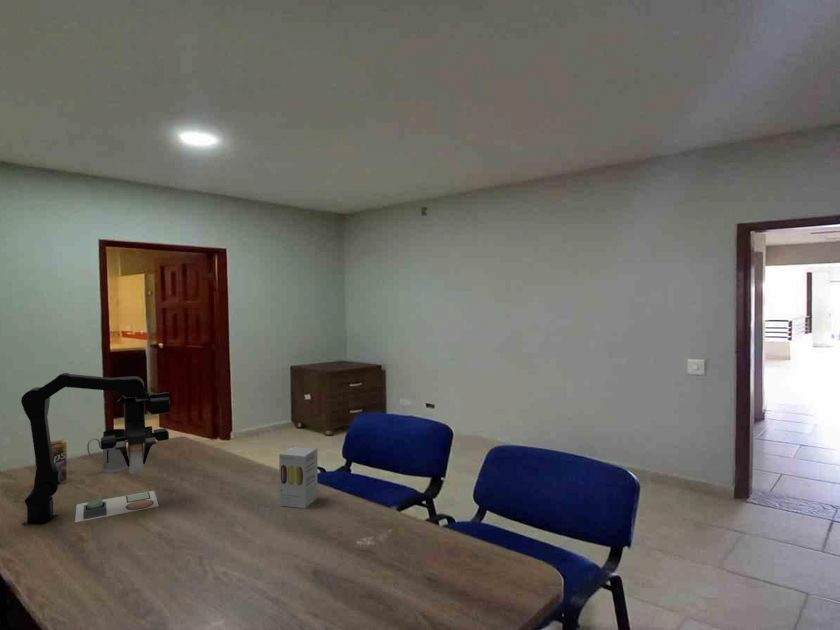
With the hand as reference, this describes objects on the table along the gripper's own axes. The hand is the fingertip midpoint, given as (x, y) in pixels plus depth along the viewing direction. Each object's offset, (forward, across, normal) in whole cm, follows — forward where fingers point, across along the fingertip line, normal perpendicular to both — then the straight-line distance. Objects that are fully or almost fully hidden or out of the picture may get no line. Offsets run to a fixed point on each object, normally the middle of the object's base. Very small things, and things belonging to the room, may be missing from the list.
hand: (136, 465), depth 162 cm
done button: (+11, -11, -1) cm, 16 cm away
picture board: (+13, -5, +3) cm, 14 cm away
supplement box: (+14, +44, -25) cm, 53 cm away
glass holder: (+13, -7, +46) cm, 48 cm away
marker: (+2, 0, 0) cm, 2 cm away
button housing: (+12, -12, -1) cm, 17 cm away
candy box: (+13, -24, +40) cm, 48 cm away
